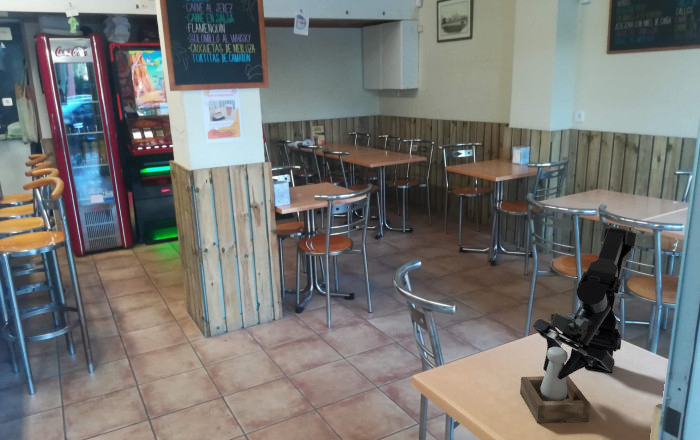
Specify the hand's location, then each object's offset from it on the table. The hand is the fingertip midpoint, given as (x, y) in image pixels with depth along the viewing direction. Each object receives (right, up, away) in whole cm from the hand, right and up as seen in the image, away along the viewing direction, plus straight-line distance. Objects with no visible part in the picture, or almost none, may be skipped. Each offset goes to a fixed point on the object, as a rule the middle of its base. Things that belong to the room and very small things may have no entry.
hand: (551, 374), depth 118 cm
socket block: (+1, -8, +3) cm, 9 cm away
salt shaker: (+1, -7, +3) cm, 7 cm away
